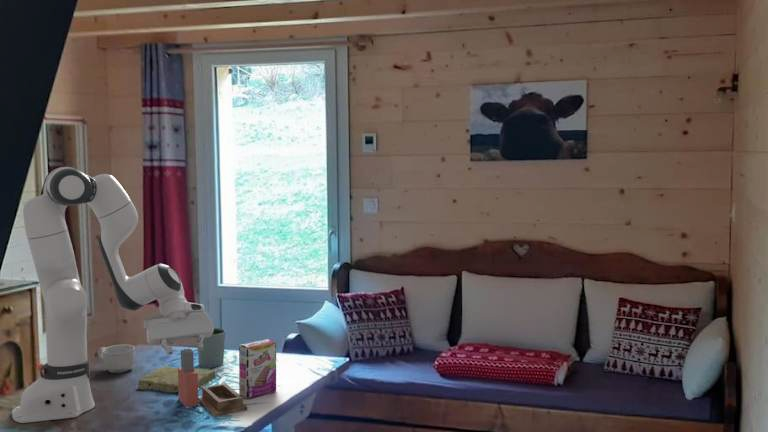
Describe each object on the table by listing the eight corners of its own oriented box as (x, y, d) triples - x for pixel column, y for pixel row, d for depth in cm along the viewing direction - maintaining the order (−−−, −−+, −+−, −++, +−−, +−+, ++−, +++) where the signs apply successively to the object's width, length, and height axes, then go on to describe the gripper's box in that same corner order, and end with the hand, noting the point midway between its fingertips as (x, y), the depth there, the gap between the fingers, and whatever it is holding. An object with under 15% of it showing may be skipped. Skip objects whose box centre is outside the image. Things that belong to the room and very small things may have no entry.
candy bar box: (248, 400, 235) (247, 347, 233) (238, 396, 238) (237, 344, 237) (277, 391, 242) (276, 340, 241) (268, 388, 246) (267, 338, 244)
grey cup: (199, 360, 278) (198, 328, 277) (227, 359, 279) (226, 327, 278) (195, 368, 268) (194, 334, 267) (224, 367, 269) (224, 334, 268)
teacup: (142, 369, 268) (141, 346, 267) (116, 377, 259) (115, 354, 258) (116, 363, 275) (115, 341, 275) (90, 370, 266) (89, 348, 265)
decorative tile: (162, 374, 263) (161, 364, 263) (216, 378, 259) (216, 367, 258) (133, 391, 245) (133, 381, 244) (191, 395, 241) (191, 384, 240)
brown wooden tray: (214, 416, 220) (214, 402, 220) (198, 400, 234) (197, 388, 234) (247, 410, 225) (247, 396, 225) (229, 395, 239) (229, 382, 239)
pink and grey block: (186, 407, 228) (185, 355, 226) (178, 399, 236) (177, 348, 234) (198, 405, 230) (197, 353, 228) (189, 397, 237) (188, 346, 236)
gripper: (143, 312, 233) (152, 350, 226) (208, 304, 244) (219, 340, 236) (140, 323, 238) (149, 361, 230) (204, 315, 248) (215, 351, 241)
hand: (185, 351), depth 233 cm, fingers open, 8 cm apart
